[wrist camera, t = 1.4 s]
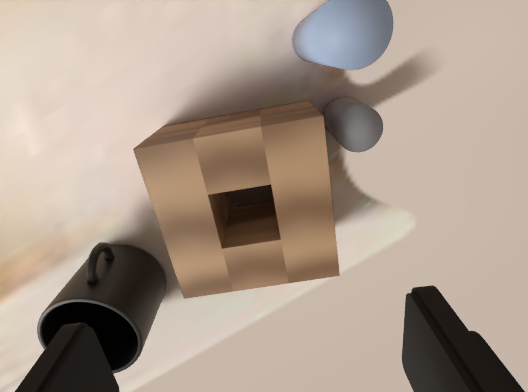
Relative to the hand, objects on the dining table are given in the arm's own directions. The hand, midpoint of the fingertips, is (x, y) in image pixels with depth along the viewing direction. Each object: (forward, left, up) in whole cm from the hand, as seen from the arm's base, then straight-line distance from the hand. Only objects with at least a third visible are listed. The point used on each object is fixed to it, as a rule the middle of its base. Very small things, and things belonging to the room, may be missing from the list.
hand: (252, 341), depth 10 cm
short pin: (-1, +8, -24) cm, 26 cm away
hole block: (+4, -2, -24) cm, 25 cm away
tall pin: (-8, +6, -24) cm, 26 cm away
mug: (+12, -18, -25) cm, 33 cm away
